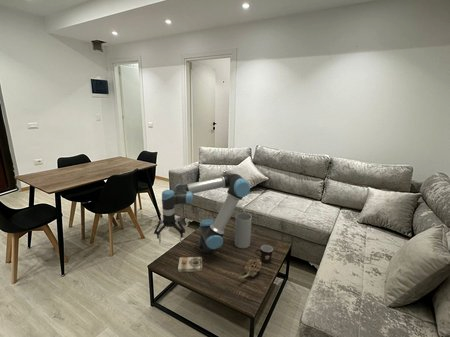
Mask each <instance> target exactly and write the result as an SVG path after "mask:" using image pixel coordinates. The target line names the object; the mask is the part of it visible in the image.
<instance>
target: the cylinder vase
mask: <svg viewBox="0 0 450 337" xmlns="http://www.w3.org/2000/svg"><path fill="white" fill-rule="evenodd" d="M252 217H253V216H252V214H250V213H248V212H237V213H236V214H235V223H234V228H235V229H234V246H235V247H237V248H239V249H247V248H249V247H250V245H251V234H252V222H253V221H252V219H253V218H252Z"/></svg>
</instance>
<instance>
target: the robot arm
mask: <svg viewBox="0 0 450 337" xmlns="http://www.w3.org/2000/svg"><path fill="white" fill-rule="evenodd" d="M221 188H222V189H228V190H227V191H226V192H227V197H226V198H225V200H224V203H223V204H222V206H221V208H220V210H219V213H218V214H217V216H216V218H215V220H214V219H211V218H206V219H202V220H201V221H200V223H199V241H198V243H197V249H198V251H199V252H201V253H204V254H211V253H213V252H214V253H215V252H216V250H218V249H220V248H221V247H222V245H223V243H224V238H223V237H224V235H225V232H226V231H225V228H226V227H227V225H228V223H229V220H230V219H231V217H232V215H233V213H234V212H235V209H236V207H237V205H238V203H239V201H242V200H243V199H244V198H245V197H247V196H248V195H249V193H250V191H251V186H250V184H249V182H248V181H247V179H245V178H244V177H242V176H241V175H239V174H237V173H228V174H223V175H220V177H217V178H211V179H206V180H201V181H196V182H191V183H187V184H183V183H177V184H176V185H175V186H174V190H172V189H165V190H163V191H162V192H161V205H162V206H161V207H162V219H159V220H158V222H157V225H156V227H155V229H154V232H153V234H154V235H156V238H157V239H158V244H159V245H160V244H161V242H162V238H161V236H162V235H161V233H162V231H163V230H164V229H165V228H172V227H173V228H174V229H175V230H177V232H179V244H180V243H182V238H183V237H184V234H185V233H186V228H185V227H184V226H183V224H182V222H181V219H180V218H178V219H176V213H175V211H176V210H175V205H185V204H192V203H193V201H194V194H197V193H198V194H199V193H203V192H207V191H212V190H217V189H221ZM161 224H163V225H162V226H161ZM177 224H178V225H177ZM160 226H161V227H160Z"/></svg>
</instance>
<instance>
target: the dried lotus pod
mask: <svg viewBox="0 0 450 337" xmlns="http://www.w3.org/2000/svg"><path fill="white" fill-rule="evenodd" d="M261 268H262V261H261V260H260V259H259V258H255V259H254V258H252V259H249V260H248V262H247V263H246V265H245V266H244V272H245V273H246V274H244V275H243V276H242V275H241V276H239V277H238V279H240V280H241V279H244V278H247V277H255V276H256V275H257V274H258V272H260V269H261Z"/></svg>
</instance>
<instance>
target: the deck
mask: <svg viewBox="0 0 450 337" xmlns="http://www.w3.org/2000/svg"><path fill="white" fill-rule="evenodd" d="M183 258H186V259H187V263H183V262H182V259H183ZM202 271H203V256H189V257H188V256H187V257H186V256H185V257H184V256H183V257H179V260H178V267H177V272H178V273H185V272H187V273H188V272H202Z"/></svg>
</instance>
